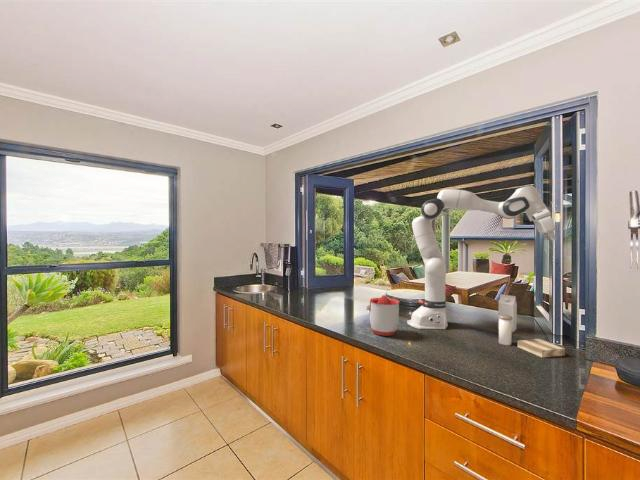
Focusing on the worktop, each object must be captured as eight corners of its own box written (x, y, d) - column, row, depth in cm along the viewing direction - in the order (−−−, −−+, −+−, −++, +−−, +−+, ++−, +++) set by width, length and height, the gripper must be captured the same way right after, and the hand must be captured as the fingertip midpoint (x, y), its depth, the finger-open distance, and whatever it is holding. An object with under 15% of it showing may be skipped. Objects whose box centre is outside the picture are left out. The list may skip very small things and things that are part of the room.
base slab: (542, 357, 123) (542, 350, 123) (517, 346, 134) (517, 340, 134) (564, 355, 125) (565, 348, 125) (538, 345, 137) (538, 338, 137)
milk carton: (501, 326, 164) (502, 293, 164) (516, 329, 159) (517, 295, 159) (498, 329, 159) (498, 295, 159) (513, 332, 154) (513, 297, 154)
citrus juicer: (366, 326, 162) (366, 291, 162) (398, 329, 159) (398, 292, 159) (364, 336, 147) (365, 297, 147) (400, 339, 144) (400, 298, 143)
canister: (504, 345, 136) (505, 318, 135) (495, 341, 141) (495, 314, 141) (514, 344, 137) (515, 317, 137) (505, 340, 142) (505, 314, 142)
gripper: (527, 218, 157) (539, 241, 155) (535, 216, 139) (549, 243, 137) (541, 213, 154) (553, 237, 152) (550, 210, 136) (565, 237, 134)
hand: (551, 240), depth 144 cm, fingers open, 8 cm apart
